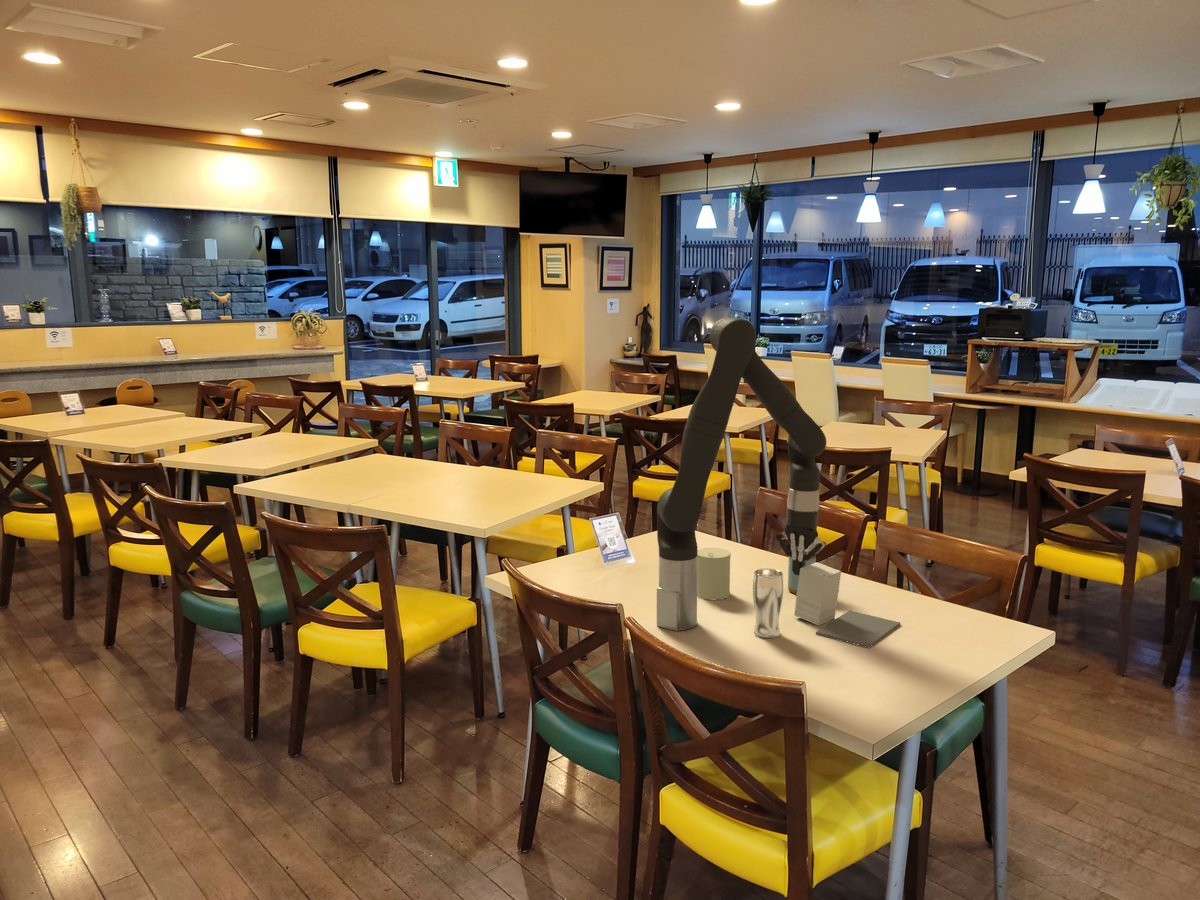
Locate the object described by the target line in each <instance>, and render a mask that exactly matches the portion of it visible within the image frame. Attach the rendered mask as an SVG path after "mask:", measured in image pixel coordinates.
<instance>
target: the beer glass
mask: <svg viewBox="0 0 1200 900" xmlns="http://www.w3.org/2000/svg"><path fill="white" fill-rule="evenodd" d="M753 573H754V574H753V580H752V597H753V598H752V599H753V604H754V605H753V606H754V612H755V624H754V629H753V634H754V636H756V637H758V638H761V639H776V638H778V637H780V635H781V631H780V625H779V623H780V621H779V620H780V613H781V608H782V604H783V598H784V578H783V577H784V575H783V574H784V573H783V571H781V570H778V569H775V568H768V567H767V568H758V569H756V570H754V571H753Z"/></svg>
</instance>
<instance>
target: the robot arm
mask: <svg viewBox="0 0 1200 900" xmlns="http://www.w3.org/2000/svg"><path fill="white" fill-rule="evenodd" d="M709 341H710V344H711V347H712V349H713V350H714V351H715V357H714V359H713V364H712V368H711V370H710V374H709V376H708V378H707V380H706V382H705V384H704V385H703V386H702V388H701V389H700V391H699V392H698V394H697V396H696V397H695V399H694V402H693V403H692V406H691V408H690V410H689V414H688V417H687V418H686V419H687V420H686V423H685V426H684V429H683V434H682V440H681V449H680V461H679V468H678V472H677V476H676V478H675V481H674V484H673V486H672V487H670V488H667V489H666V490H664V491H663V493H662V494H661V495H660V496H659V498H658V501H657V506H656V527H657V528H656V530H657V531H656V532H657V533H656V534H657V535H656V537H657V538H656V539H657V545H658V587H657V588H656V626H657V627H661V628H664V629H667V630H669V631H674V632H679V631H682V630H683V631H684V630H690V629H693V628H694V627H696V626H697V624H698V623H697V621H698V617H697V616H698V596H697V551H698V550H699V549H698V542H697V538H696V525H697V524H698V522H699V520H700V518H701V513H702V510H703V504H704V499H705V494H706V490H707V489H706V488H707V484H708V481H709V479H710V476H711V475H710V474H711V473H712V470H713V468H714V465H715V462H716V460H717V457H718V454H719V450H720V448H721V444H722V443H723V439H724V436H725V434H726V433H725V432H726V430H727V427H728V424H729V420H730V416H731V413H732V410H733V406H734V404H735V400H736V397H737V393H738V389H739V387H740V383H741V380H742V379H743V380H744V381H745V383H746V384H747V385H748V387H749V388H750V390H751V391H752V392H753V393H754V394H755V396H756V397H757V399H758V400H759V402H760V403H761V404H762V406H763V407H764V409H765V410H766V411H767V412H768V414H769V415H770V417H771V418H772V419H773V421H774V422H775V424H777V425H778V426H779V427H780V428H782V429H783V430H784V431H785V432H786V434H787V435H788V437H787V451H788V452H787V453H788V459H789V460H788V462H789V468H790V471H789V472H790V473H789V488H788V493H787V499H786V500H787V502H786V503H787V504H786V515H785V516H786V519H785V522H786V525H785V527H784V528H783V529H784V530H783V531H782V532H780V533H777V534H776V535H775V538H776V540H777V542H778V543H779V545H780V547H781V549H782V550H783V552H784V554H785V555H786V556H787V557H789V556H790V557H791V558H792V559H793V563H792V571H793V572H794V574H795V575H799V574H800V568H802V567H805V563H806V561H808V560H810V559H812V558H814V557H815V556H817V555H818V554H819V553H820V552H821V551H822V550H823V549H824V548H825V547H826V545H827V543H826V541H824V540H823V541H822V540H821V539H820V537H819V533H818V522H819V508H820V480H821V479H820V477H821V474H820V473H821V472H820V468H819V466H818V465H817V464H816V457H817V456H818V457H819V456H820V455H822V453H823V452H824V451H825V450H826V447H827V438H826V435H825V433H824V431H823V429H821V427H820V426H819V425H818V424H817V422H815V420H814V419H813V418H812V417H811V416H810V415H809V414H808V413H807V412H806V411H805V409H803V407H802V406H801V404H800V402H798V400H797V398H796V397H795V396H794V394H793V393H792V392H791V390H790V389H789V387H787V385H786V384H785V383H784V381H782V379H780V377H778V376H777V375H776V374H775V373H774V372H773V371H772V370H771V369H770V368H769V366H768V365H767V364H766V363H765V362H764V361H763V360H762V359H761V357H760V355H758V352H757V351H756V350H755V348H756V344H757V331H756V329H755V326H754V325H753V324H752V323H751V322H750V321H749V320H746V319H743V318H739V317H738V318H737V317H734V316H733V317H731V316H727V317H723V318H720V319H718V320H717V321H715V322H714V324H712V326H711V328H710V331H709ZM813 542H815V543H814V548H813V549H812V550H811V551H810V552H809V553H808V551H809V547H810V545H811V544H812V543H813Z"/></svg>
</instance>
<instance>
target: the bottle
mask: <svg viewBox="0 0 1200 900" xmlns="http://www.w3.org/2000/svg"><path fill="white" fill-rule="evenodd" d="M814 543H815V542H813V543H812V544H811V545H810V547H809V551H808V553H809V552H810V551H811V550H812V549H813V548H814ZM816 556H817V555H816ZM816 556H815V557H814V558H812V559H810V560H808V561H806V563H805V566H808V565H810V564H813V563H816V560H817V557H816ZM792 563H793V559H792V558H791V557H790V556H788V567H787V568H788V569H787V570H788V571H787V589H788V590H789V592H790V593H792V594H794V593H795V594H794V595H797V589H798V582H799V575H795V574H794V572H793V571H792Z"/></svg>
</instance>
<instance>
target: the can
mask: <svg viewBox="0 0 1200 900" xmlns="http://www.w3.org/2000/svg"><path fill="white" fill-rule="evenodd" d="M730 585H731V551H730V550H728V549H725V548H718V547H706V548H701V549H698V550H697V598H699V597H700V599H702V598H703V599H702V600H706V599H709V600H708V601H712V600H711V599H715V600H714V601H717V600H716V599H722V600H725V599H724V598H726V599H728V598H730V596H731V589H730V587H731V586H730ZM727 597H728V598H727Z"/></svg>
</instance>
